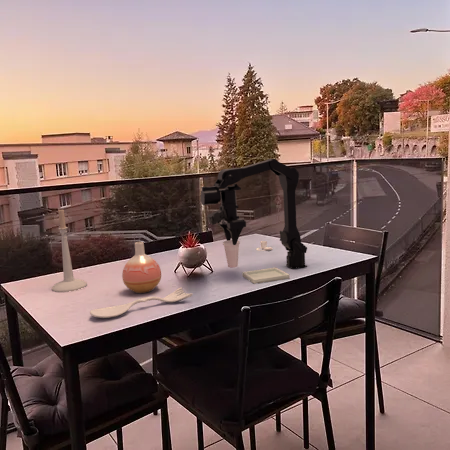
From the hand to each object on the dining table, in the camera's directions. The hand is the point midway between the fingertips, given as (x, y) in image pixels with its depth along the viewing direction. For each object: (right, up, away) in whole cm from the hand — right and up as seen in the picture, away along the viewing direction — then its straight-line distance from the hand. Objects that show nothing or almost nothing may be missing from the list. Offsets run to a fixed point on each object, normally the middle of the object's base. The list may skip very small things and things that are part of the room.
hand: (231, 243), depth 177 cm
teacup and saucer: (+15, -6, +44) cm, 46 cm away
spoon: (-29, -20, -30) cm, 46 cm away
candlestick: (-61, -17, -1) cm, 64 cm away
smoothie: (+1, -9, +1) cm, 9 cm away
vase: (-32, -17, -11) cm, 37 cm away
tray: (+13, -13, -3) cm, 18 cm away
